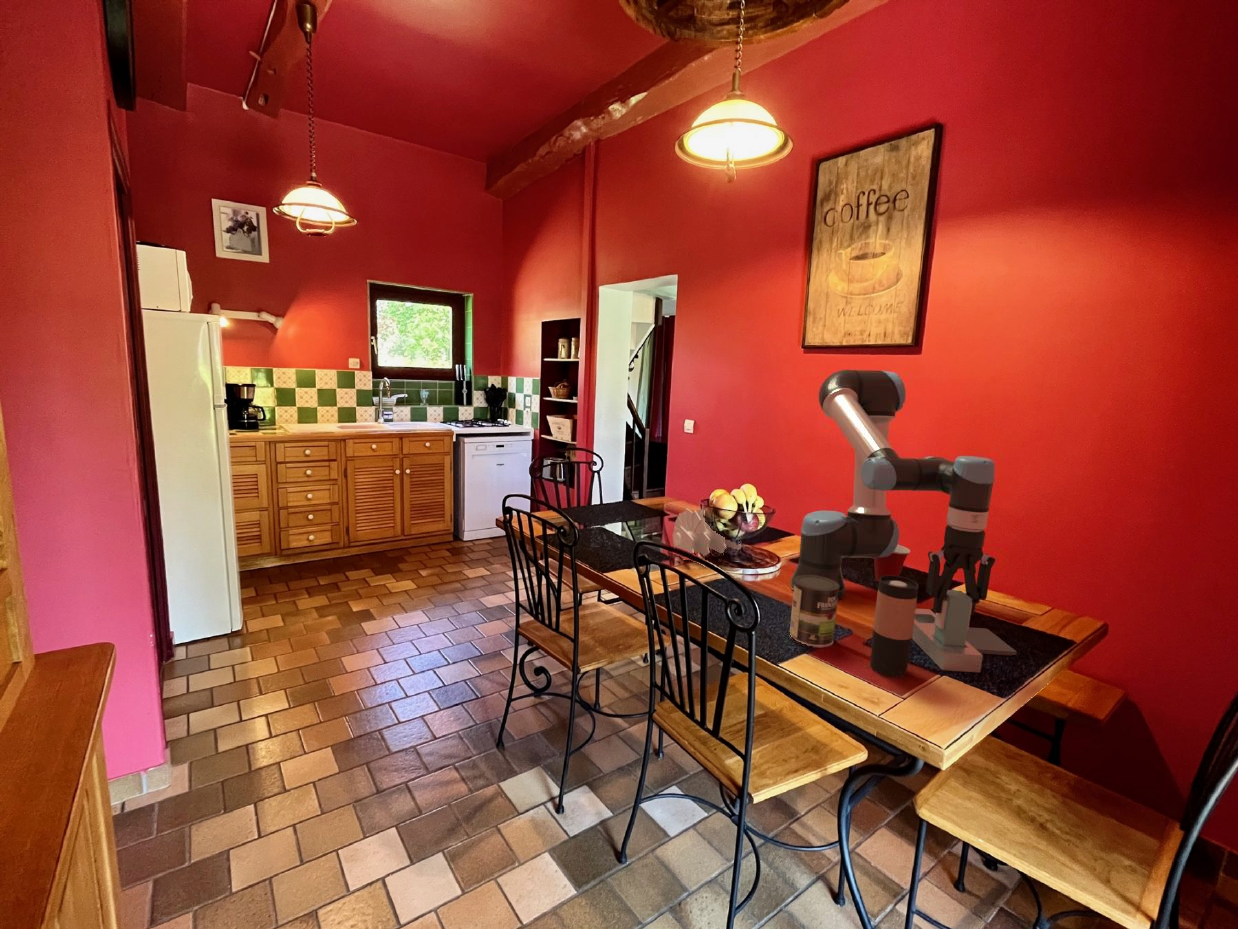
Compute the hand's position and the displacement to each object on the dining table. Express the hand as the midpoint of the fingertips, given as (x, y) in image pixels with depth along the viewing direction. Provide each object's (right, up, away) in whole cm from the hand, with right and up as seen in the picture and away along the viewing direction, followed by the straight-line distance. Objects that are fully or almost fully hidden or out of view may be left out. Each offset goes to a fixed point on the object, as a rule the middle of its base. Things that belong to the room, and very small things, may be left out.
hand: (951, 626), depth 129 cm
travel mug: (-17, -8, -5) cm, 19 cm away
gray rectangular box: (0, -6, +1) cm, 6 cm away
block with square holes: (0, -6, +7) cm, 9 cm away
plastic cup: (+8, 0, +47) cm, 48 cm away
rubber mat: (+11, -6, +9) cm, 16 cm away
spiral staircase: (-45, +5, +65) cm, 79 cm away
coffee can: (-29, -5, +9) cm, 31 cm away
